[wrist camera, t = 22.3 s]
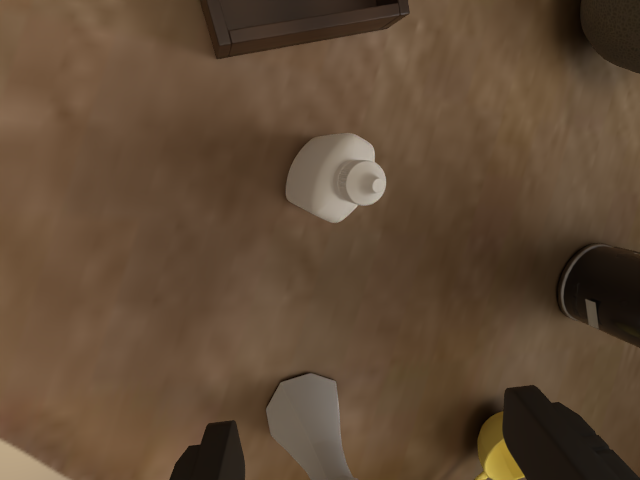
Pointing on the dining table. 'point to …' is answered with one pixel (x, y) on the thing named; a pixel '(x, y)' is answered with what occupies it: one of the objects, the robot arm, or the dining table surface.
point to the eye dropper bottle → (335, 176)
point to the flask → (309, 426)
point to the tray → (292, 22)
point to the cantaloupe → (613, 30)
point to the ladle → (495, 452)
